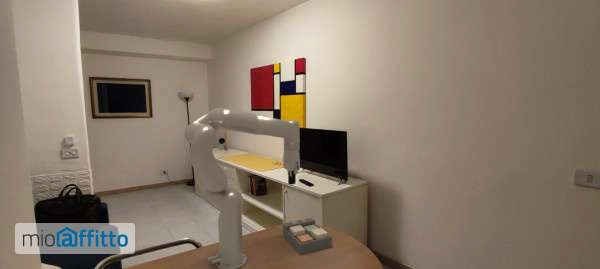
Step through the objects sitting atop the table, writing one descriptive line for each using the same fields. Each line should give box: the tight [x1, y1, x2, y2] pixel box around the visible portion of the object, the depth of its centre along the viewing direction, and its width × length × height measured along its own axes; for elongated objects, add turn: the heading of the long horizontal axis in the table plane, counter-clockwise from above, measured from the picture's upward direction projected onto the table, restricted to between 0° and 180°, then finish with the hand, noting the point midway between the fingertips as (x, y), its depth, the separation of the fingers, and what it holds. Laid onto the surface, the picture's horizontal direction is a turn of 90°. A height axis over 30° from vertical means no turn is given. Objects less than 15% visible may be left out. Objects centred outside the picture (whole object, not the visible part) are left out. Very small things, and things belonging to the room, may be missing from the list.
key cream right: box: [311, 227, 328, 239], centre depth 132 cm, size 6×6×2 cm
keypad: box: [282, 217, 333, 256], centre depth 136 cm, size 16×19×7 cm
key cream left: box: [290, 225, 305, 236], centre depth 136 cm, size 6×6×2 cm
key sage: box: [304, 225, 319, 235], centre depth 139 cm, size 6×6×2 cm
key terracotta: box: [297, 234, 313, 243], centre depth 129 cm, size 6×6×2 cm
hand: (291, 183), depth 138 cm, fingers closed
